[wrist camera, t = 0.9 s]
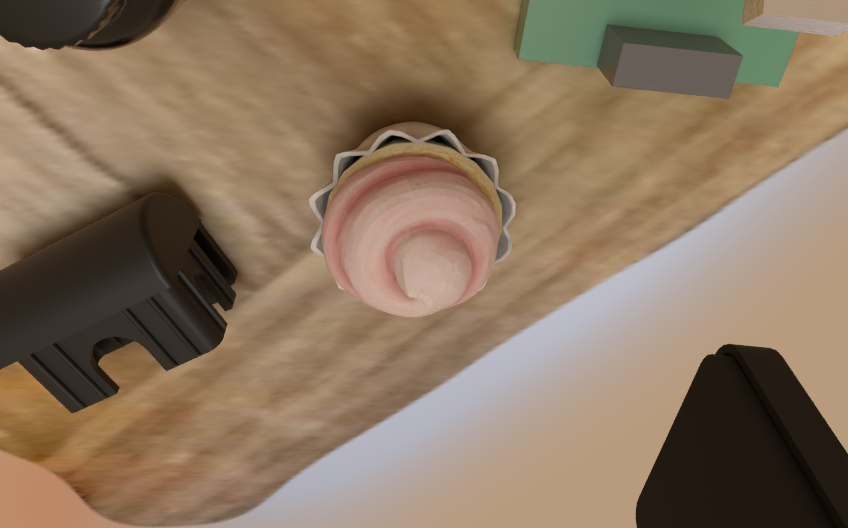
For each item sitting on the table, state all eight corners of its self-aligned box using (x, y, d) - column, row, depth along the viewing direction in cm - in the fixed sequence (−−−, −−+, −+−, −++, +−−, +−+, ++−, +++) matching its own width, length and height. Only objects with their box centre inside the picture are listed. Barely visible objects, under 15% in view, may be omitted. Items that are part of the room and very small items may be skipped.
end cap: (167, 162, 37) (127, 231, 31) (249, 271, 40) (227, 351, 35) (7, 246, 39) (-59, 325, 33) (98, 342, 42) (53, 429, 37)
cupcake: (290, 114, 36) (260, 214, 27) (485, 69, 35) (516, 158, 27) (344, 275, 41) (333, 404, 32) (516, 239, 40) (551, 361, 31)
